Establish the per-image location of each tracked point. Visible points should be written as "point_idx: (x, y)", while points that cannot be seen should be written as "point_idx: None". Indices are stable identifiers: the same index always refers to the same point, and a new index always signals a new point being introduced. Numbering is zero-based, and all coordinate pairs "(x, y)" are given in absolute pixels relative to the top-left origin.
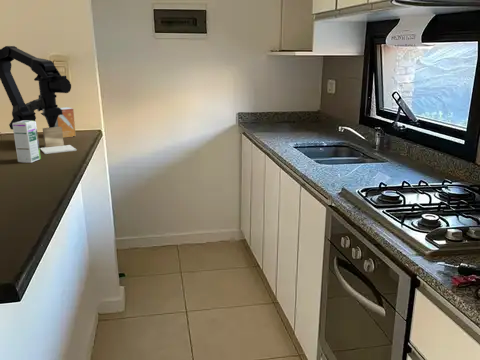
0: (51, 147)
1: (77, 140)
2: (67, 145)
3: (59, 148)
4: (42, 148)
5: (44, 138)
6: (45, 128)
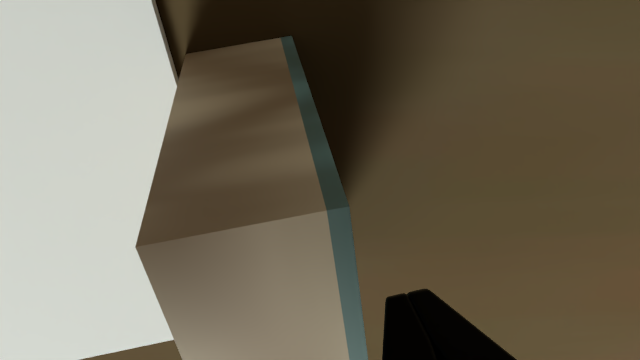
0: (138, 135)
1: (516, 353)
2: None
3: (37, 230)
4: (86, 3)
5: (235, 105)
6: (261, 273)
